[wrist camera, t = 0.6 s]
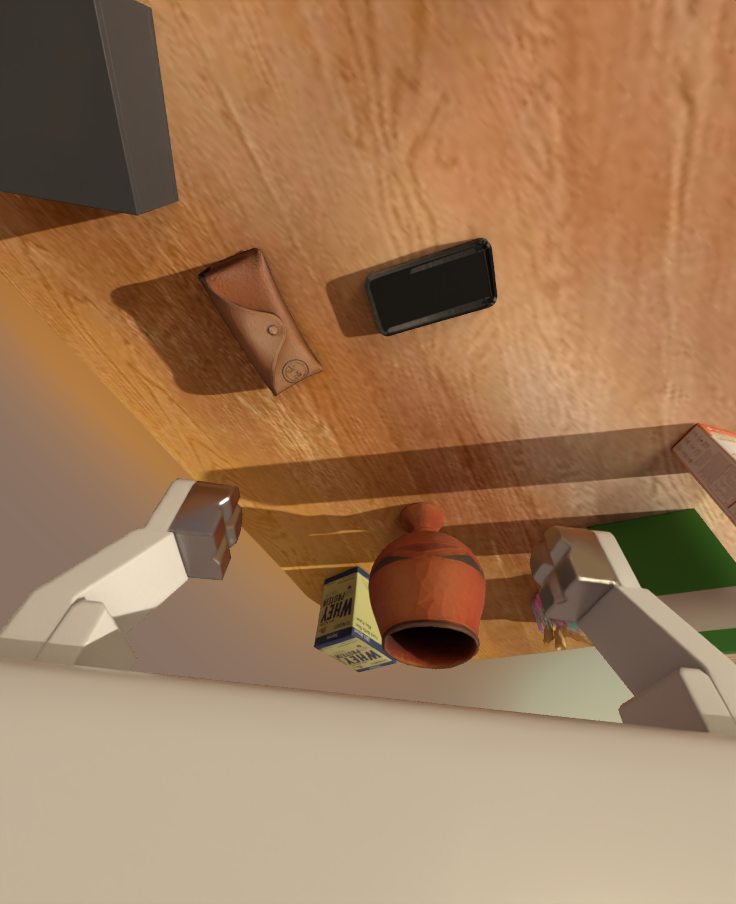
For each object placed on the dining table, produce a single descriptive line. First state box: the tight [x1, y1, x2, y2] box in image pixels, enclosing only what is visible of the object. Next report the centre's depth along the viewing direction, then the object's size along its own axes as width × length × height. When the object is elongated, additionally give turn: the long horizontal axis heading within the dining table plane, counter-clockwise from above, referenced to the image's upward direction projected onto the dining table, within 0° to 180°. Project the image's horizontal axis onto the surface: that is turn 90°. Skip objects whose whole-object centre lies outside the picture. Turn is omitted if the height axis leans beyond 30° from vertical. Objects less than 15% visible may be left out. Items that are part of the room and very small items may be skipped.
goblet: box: [368, 503, 486, 669], centre depth 66 cm, size 19×19×25 cm
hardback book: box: [588, 509, 736, 664], centre depth 66 cm, size 18×7×24 cm, turn 112°
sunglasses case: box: [198, 248, 323, 396], centre depth 51 cm, size 18×7×7 cm
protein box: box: [314, 567, 396, 672], centre depth 88 cm, size 10×16×16 cm
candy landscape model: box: [531, 594, 594, 650], centre depth 87 cm, size 25×24×9 cm
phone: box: [365, 238, 497, 336], centre depth 48 cm, size 8×1×15 cm
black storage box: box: [0, 0, 178, 215], centre depth 35 cm, size 15×13×9 cm
